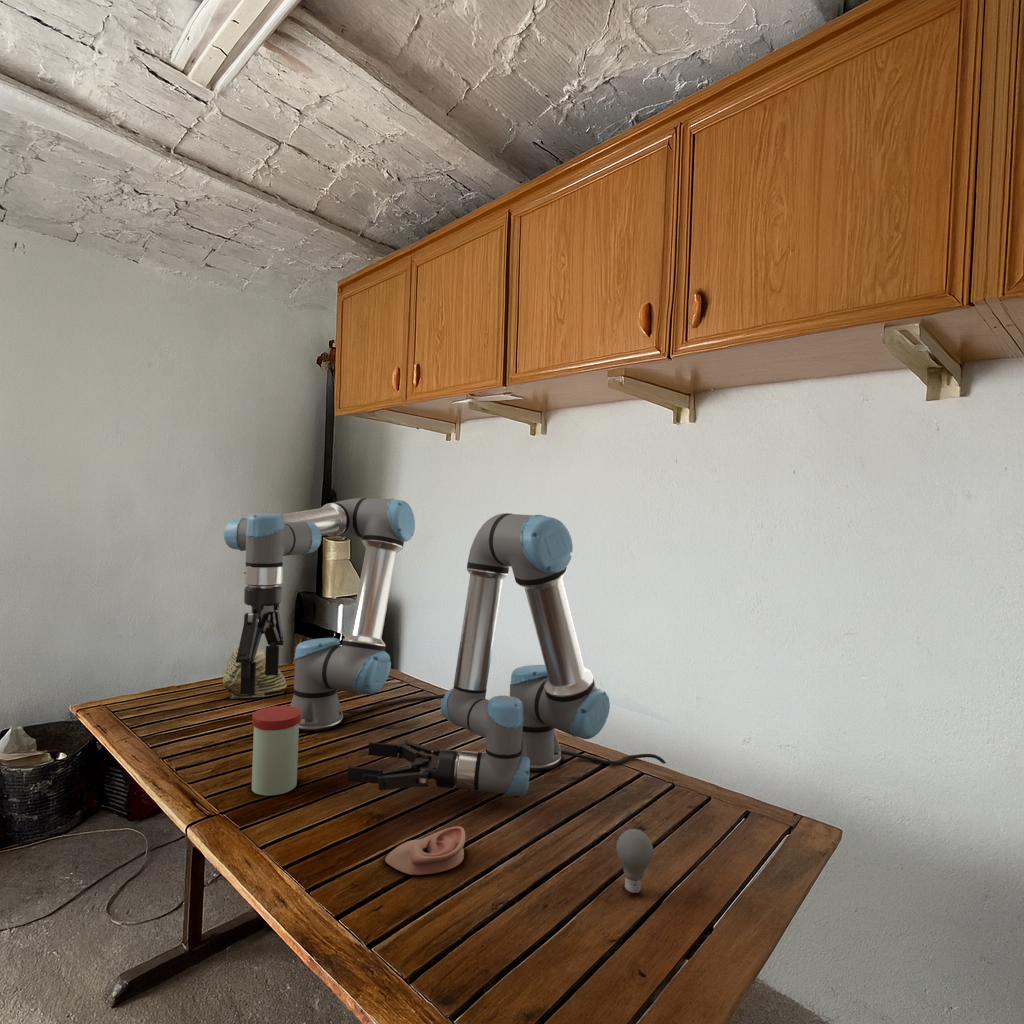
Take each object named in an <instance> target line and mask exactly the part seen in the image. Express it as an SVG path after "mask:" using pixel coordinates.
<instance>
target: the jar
mask: <svg viewBox="0 0 1024 1024" xmlns="http://www.w3.org/2000/svg"><path fill="white" fill-rule="evenodd" d="M299 733H300V731H299V723H298V724H297V725H295V726H292V727H289V728H285V729H278V730H265V729H259V728H256V727H254V726H253V737H252V738H253V740H252V744H253V745H252V765H251V791H252V792H253V793H254V794H256V795H260V796H267V797H269V796H277V795H278V796H279V795H283V794H286V793H289V792H290V791H293V790H295V788H296V787H297V783H298V766H299V765H298V763H299V735H300V734H299Z"/></svg>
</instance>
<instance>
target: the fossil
mask: <svg viewBox="0 0 1024 1024" xmlns="http://www.w3.org/2000/svg"><path fill="white" fill-rule="evenodd" d="M238 649H239V646H238V647H237V648H236V649H235V650H233V651H232V653H231V656H230V657H229V659H228V660H227V663H226V666H225V668H224V671H223V675H222V676H223V677H222V685H223V687H224V688H225V690H226V691H228V693H229V698H230V699H250V698H264V697H271V696H275V695H281V694H284V693H285V691H286V689H287V687H288V686H287V680H286V678H285V676H284V674H283V673H282V672H281V669H279V668H278V675H265V661H266V651H265V650H264V649H263V648H260V647H258V649H257V652H256V656H255V659H254V662H256V680H255V694H240V689H241V663H237V662H236V658H237V654H238Z"/></svg>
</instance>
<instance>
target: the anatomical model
mask: <svg viewBox="0 0 1024 1024" xmlns="http://www.w3.org/2000/svg"><path fill="white" fill-rule="evenodd" d="M465 844H466V831H465V829H464V828H463V826H451V827H447V828H444V829H442V830H439V831H436V832H433V833H432V834H430V835H428V836H425V837H423V838H420V839H413V840H412V839H410V840H408V841H405V842H403V843H401V844H399V845H397V847H395V848H394V849H392V850H391V851H390V852H389V853H388V854H387V855H386V856H385V859H384V861H385V863H386V864H387V865H389V866H390V867H391V868H393V869H395V870H397V871H399V872H401V873H403V874H406V875H411V876H421V875H422V876H423V875H431V874H438V873H442V872H445V871H448V870H451V869H453V868H456V867H457V866H459V865H460V864H461V863H462V862H463V860H464V857H465V851H464V846H465Z"/></svg>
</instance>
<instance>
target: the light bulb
mask: <svg viewBox="0 0 1024 1024" xmlns="http://www.w3.org/2000/svg"><path fill="white" fill-rule="evenodd" d="M615 849H616V854H617V857H618V859H619V861H620V863H621V865H622V867H623V873H624V874H623V875H624V876H625V878H624V888H625V890H627V891H628V892H630V893H634V894H635V893H639V892H640V891H641V889H642V887H641V886H642V879H643V877H644V875H645V871H646V868H647V867H648V866H649V864H650V863H651V861H652V859H653V855H654V847H653V843H652V841H651V838H649V836H648V835H647V834H646V833H645V832H643V831H642V830H641V829H636V828H629V829H627V830H625V831H623V832H622V833H621V834H620V835H619V837H618V839H617V841H616V847H615Z"/></svg>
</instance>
